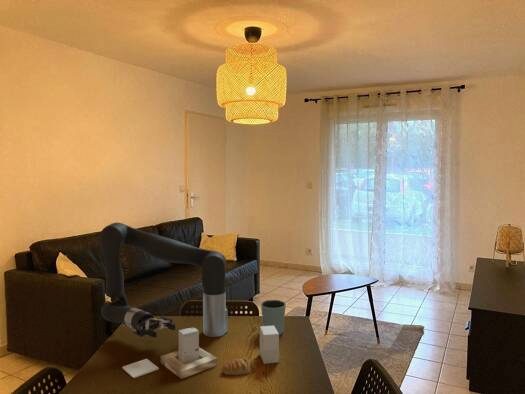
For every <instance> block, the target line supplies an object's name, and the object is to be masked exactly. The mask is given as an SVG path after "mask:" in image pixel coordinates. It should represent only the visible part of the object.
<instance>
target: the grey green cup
mask: <svg viewBox="0 0 525 394" xmlns="http://www.w3.org/2000/svg"><path fill="white" fill-rule="evenodd" d="M260 307H261V308H260V309H261V316H262V317H261V318H262V320H261V321H262V326H275V328H276V330H277V331H278V333H279V336H282V335H283V334H284V331H285V315H286V307H287V306H286V302H285V301H283V300H281V299H268V300H264V301H262V302H261V303H260ZM282 333H283V334H282Z"/></svg>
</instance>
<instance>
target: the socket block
mask: <svg viewBox="0 0 525 394" xmlns="http://www.w3.org/2000/svg"><path fill="white" fill-rule="evenodd" d="M160 364H161V365H163V366H164V367H165V368H166V369H167V370H169V371H170V372H172V373H173V374H174V375H175V376H177V377H178V378H179V379H180V380H182V379H185V378H188V377H190V376H193V375H195V374H198V373H201V372H202V371H206V370H209V369H210V368H214V367H217V366H218V357H216V356H214V355H213V354H211V353H210V352H208V351H206V350H204V349H203V348H201V347H200V346H199V360H196V361H194V362H191V363H188V364H183V363H182V362H181V361H179V349H178V350H175V351H173V352H169V353H166V354H164V355H160Z"/></svg>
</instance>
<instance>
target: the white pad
mask: <svg viewBox="0 0 525 394" xmlns="http://www.w3.org/2000/svg"><path fill="white" fill-rule="evenodd" d="M121 368H122V370H123V371H125V372H126V373H127V375H129V376H130V377H132V379H136V378H139V377H141V376H144V375H147V374H150V373H152V372H155V371H158V370H160V368H159V367H158V366H157V365H156V364H154V363H153V362H152V361H150V360H149V359H148V358H145V359H142V360H138V361H135V362H132V363H130V364H127V365H124V366H122V367H121Z"/></svg>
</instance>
